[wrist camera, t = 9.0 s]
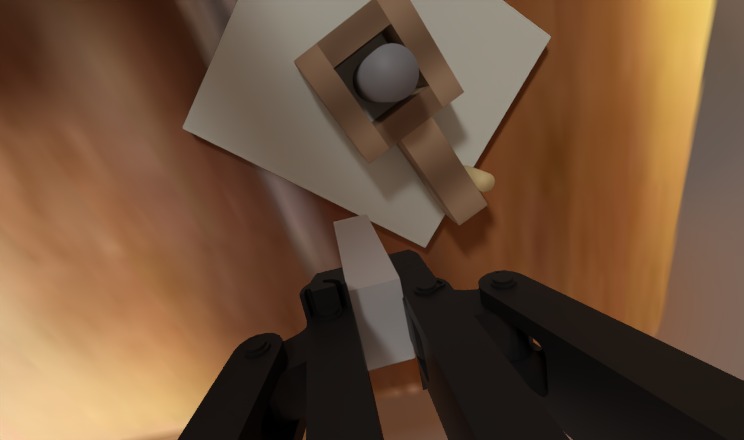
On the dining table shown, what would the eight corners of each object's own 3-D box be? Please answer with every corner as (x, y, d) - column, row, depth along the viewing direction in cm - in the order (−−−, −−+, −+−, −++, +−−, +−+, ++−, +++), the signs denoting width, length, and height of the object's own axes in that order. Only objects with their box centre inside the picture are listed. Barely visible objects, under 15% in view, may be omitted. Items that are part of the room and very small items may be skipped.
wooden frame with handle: (295, 66, 31) (293, 60, 27) (387, -5, 30) (397, -21, 27) (417, 232, 37) (430, 247, 33) (496, 174, 36) (517, 182, 32)
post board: (186, 127, 32) (142, 135, 24) (302, -140, 28) (299, -246, 20) (425, 245, 39) (457, 284, 30) (546, 41, 35) (623, 20, 26)
